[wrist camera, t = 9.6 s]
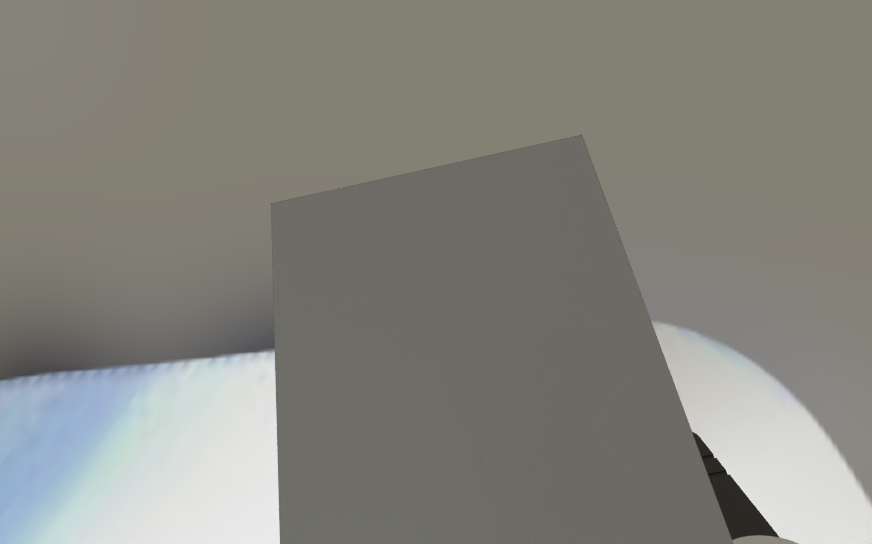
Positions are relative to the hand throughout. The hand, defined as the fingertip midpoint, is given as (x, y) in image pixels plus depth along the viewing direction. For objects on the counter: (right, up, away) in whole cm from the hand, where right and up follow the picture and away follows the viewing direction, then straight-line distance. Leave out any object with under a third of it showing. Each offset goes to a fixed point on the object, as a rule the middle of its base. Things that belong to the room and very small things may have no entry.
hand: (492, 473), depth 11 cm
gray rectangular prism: (+1, -3, +4) cm, 5 cm away
